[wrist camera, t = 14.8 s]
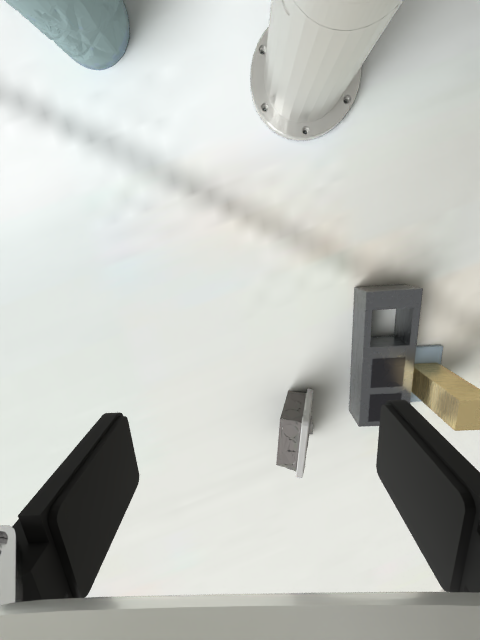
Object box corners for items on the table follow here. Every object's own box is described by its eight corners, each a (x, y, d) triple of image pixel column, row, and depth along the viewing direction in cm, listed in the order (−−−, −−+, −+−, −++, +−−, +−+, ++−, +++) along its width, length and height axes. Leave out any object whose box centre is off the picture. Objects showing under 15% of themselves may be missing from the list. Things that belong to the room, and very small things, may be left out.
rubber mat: (405, 346, 41) (408, 348, 40) (440, 345, 40) (443, 346, 40) (400, 399, 43) (402, 402, 43) (432, 398, 43) (435, 400, 42)
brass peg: (409, 363, 41) (459, 400, 31) (436, 362, 41) (495, 399, 31) (406, 387, 42) (454, 430, 32) (433, 386, 42) (489, 429, 32)
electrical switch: (306, 436, 45) (314, 483, 37) (275, 433, 46) (276, 478, 37) (312, 386, 43) (322, 422, 34) (279, 383, 44) (281, 418, 35)
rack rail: (354, 287, 38) (366, 292, 35) (405, 284, 38) (423, 288, 34) (349, 410, 44) (359, 426, 40) (393, 408, 44) (407, 424, 40)
